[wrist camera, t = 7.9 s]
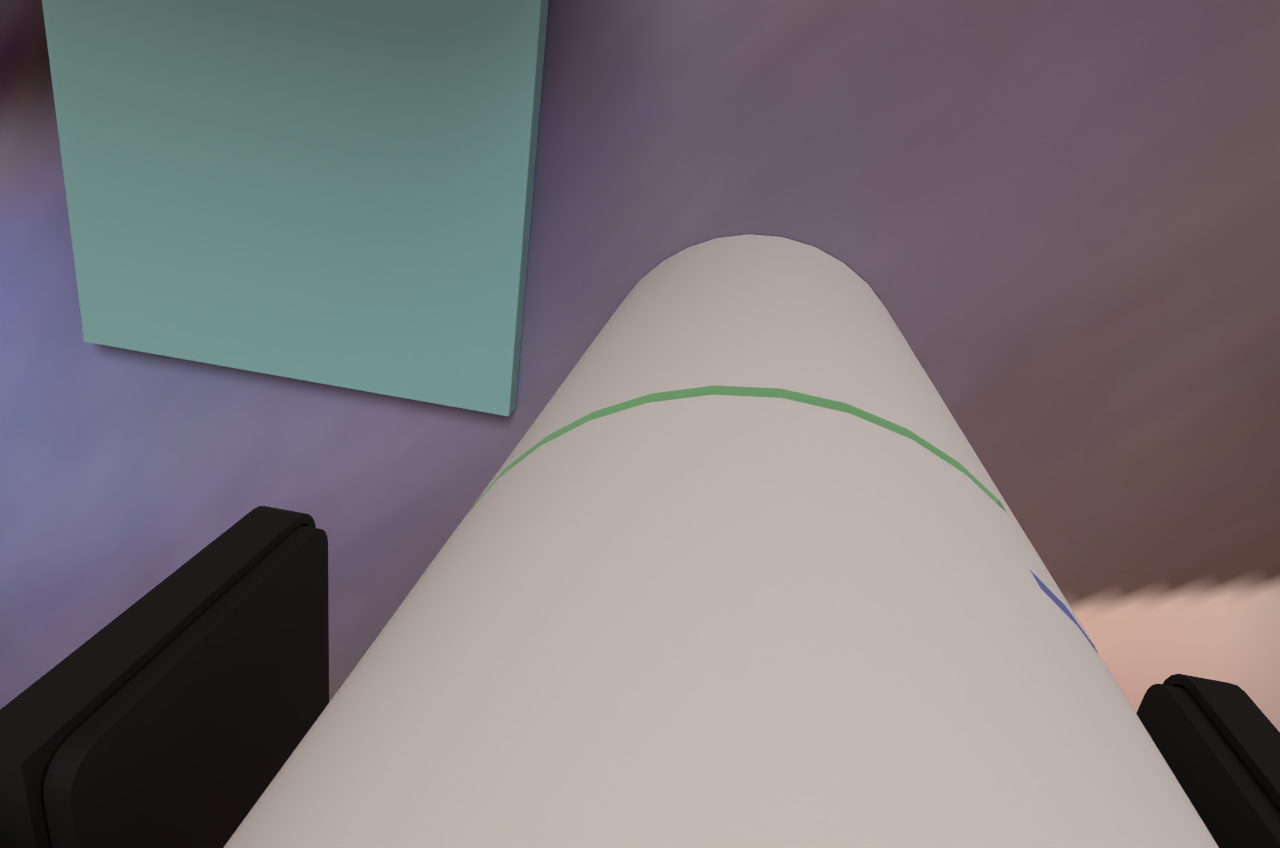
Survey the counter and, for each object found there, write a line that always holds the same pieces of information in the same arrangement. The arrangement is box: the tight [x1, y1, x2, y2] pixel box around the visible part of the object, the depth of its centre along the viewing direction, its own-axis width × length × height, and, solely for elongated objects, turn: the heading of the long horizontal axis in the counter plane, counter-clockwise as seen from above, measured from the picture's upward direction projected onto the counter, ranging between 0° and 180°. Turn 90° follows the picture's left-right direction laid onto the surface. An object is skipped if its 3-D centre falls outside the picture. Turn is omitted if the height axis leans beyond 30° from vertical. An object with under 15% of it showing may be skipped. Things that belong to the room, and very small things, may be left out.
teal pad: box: [42, 0, 549, 416], centre depth 19 cm, size 11×11×1 cm
